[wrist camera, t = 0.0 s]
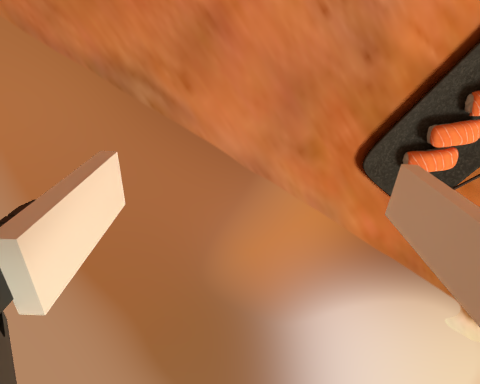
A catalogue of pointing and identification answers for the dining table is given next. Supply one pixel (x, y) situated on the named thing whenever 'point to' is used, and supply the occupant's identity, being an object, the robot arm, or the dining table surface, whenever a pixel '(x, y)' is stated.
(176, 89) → the dining table surface
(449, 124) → the sushi plate
